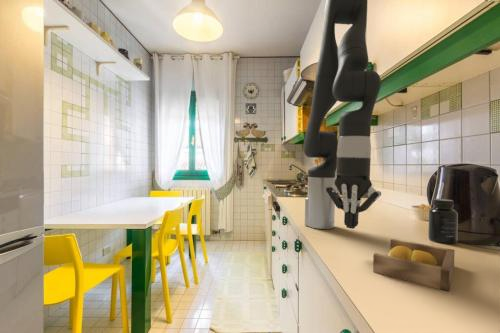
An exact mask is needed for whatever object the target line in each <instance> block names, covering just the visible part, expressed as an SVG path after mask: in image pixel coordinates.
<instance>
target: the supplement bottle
mask: <svg viewBox="0 0 500 333" xmlns="http://www.w3.org/2000/svg"><path fill="white" fill-rule="evenodd" d="M454 203H455V202H454V200H453V199H448V198H433V199H432V206H433V207H432V208H430V209H429V210H428V227H427V228H428V230H427V231H428V235H427V237H428V239H429V240H430V241H431V242H433V243H437V244H443V245H454V244H457V243H458V229H459V228H458V226H459V224H458V222H459V220H458V219H459V218H458V217H459V213H458V212H457V210H455V209H454V208H455V205H454Z"/></svg>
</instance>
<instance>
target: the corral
mask: <svg viewBox="0 0 500 333" xmlns="http://www.w3.org/2000/svg"><path fill="white" fill-rule="evenodd" d="M389 246H390V247H389V248H390V249H389V251H390V250H391V249H393V248H394V247H396V246H404V247H407V248H409V249H411V250H412V251H413V250H420V251H424V252H428V253H430V254H431V255H432V256H433V257H434V258H435V259H436V261H437V266H433V265H428V264H424V263H419V262H414V261H410V260H405V259H401V258H396V257H391V256H388V254H387V255H386V254H381V253H377V252H375V253H373V258H372V259H373V260H372V263H373V264H372V266H373V267H372V268H373V269H372V272H373V273H376V274H379V275H380V274H381V275H384V276H388V277H392V278H395V279H399V280H402V281H403V280H404V281H406V282H407V281H408V282H410V283H415V284H419V285H422V286H425V287H430V288H435V289H438V290H443V291H446V292H449V291H450V290H451V288H450V287H451V284H452V282H451V281H452V278H453V273H454V268H455V249H452V248H445V247H442V246H441V247H440V246H434V245H428V244H424V243H423V244H422V243H417V242H412V241H405V240H400V239H395V238H391V239H390V245H389Z"/></svg>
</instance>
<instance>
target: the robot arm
mask: <svg viewBox="0 0 500 333" xmlns="http://www.w3.org/2000/svg"><path fill="white" fill-rule="evenodd" d="M324 5H325V6H324V12H323V22H322V33H321V44H320V51H319V55H318V56H319V57H318V62H317V66H316V71H315V77H314V83H313V84H314V86H313V93H312V100H311V107H310V113H309V117H308V122H307V125H306V130H305V134H304V135H305V136H304V140H303V154H304V155H305V157H307V158H318V159H319V158H320V159H322V161H321V163H320V164H319V163H318V164H317V165H316V166H313V167H311V168H308V171H307V197H306V198H305V199H304V226H307V227H310V228H313V229H317V230H318V229H320V230H328V229H329V230H331V229H333V228H335V208H337V209H338V210H342V211H343V213H344V216H343V219H344V220H343V221H344V225H345V227H346V228H348V229H351V230H352V229H353V230H354V229H355V228H356V227H357V226H358V225H359V215H360V213H363V212H365V211H367V210H368V209H369V208H370V207H371V206H372V205H373V204H374V203H375V201H377V200H378V199H379V198H380V197H381V195H382V192H381V191H380V190H376V189H375V188H374V187H373V183H372V181H371V160H372V158H371V156H372V144H371V143H372V142H371V128H372V127H371V126H372V125H371V124H372V118H373V117H372V116H373V112H374V107H375V105H376V102H377V99H378V97H379V94H380V91H381V86H382V79H381V77H380V75H379V73H378V72H376V71H375V70H367V69H368V66H369V62H370V61H369V54H368V53H369V52H368V47H367V40H366V39H367V38H366V37H367V36H366V34H367V21H368V0H325V4H324ZM336 24H338V25H346V26H348V25H351V26H350V27H349V28H348V30H346V31H345V33H344V34H343V35H342V37H341V38H340V40H339V43H337V40H336V29H335V28H336ZM338 102H340V103H356V102H357V103H361V106H360V108H358V109H354V110H351V111H346V112H343V113H342V114H341V115H340V116H339V122H338V135H337V134H336V133H335V132H334V131H322V130H321V126H322V124H323V122H324V119H325V117H326V115H327V114H328V113H329V111H330V110H331V109H332V108H333V107H334V105H335V104H337V103H338ZM320 130H321V131H320ZM338 192H339V193H338ZM365 195H367V199H366V200H365V201H364V202H363V203H362V198H363V197H364V196H365ZM341 196H342V198H341Z"/></svg>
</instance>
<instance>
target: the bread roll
mask: <svg viewBox="0 0 500 333" xmlns="http://www.w3.org/2000/svg"><path fill="white" fill-rule="evenodd" d="M387 256H391V257H396V258H401V259H405V260H410V261H414V262H419V263H424V264H428V265H433V266H438V264H437V261H436V259H435V258H434V257H433V256H432V255H431V254H430V253H428V252H424V251H420V250H413V251H412V250H411V249H409V248H407V247H404V246H396V247H394V248H393V249H391V250H390V249H389V251H388V253H387Z"/></svg>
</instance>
